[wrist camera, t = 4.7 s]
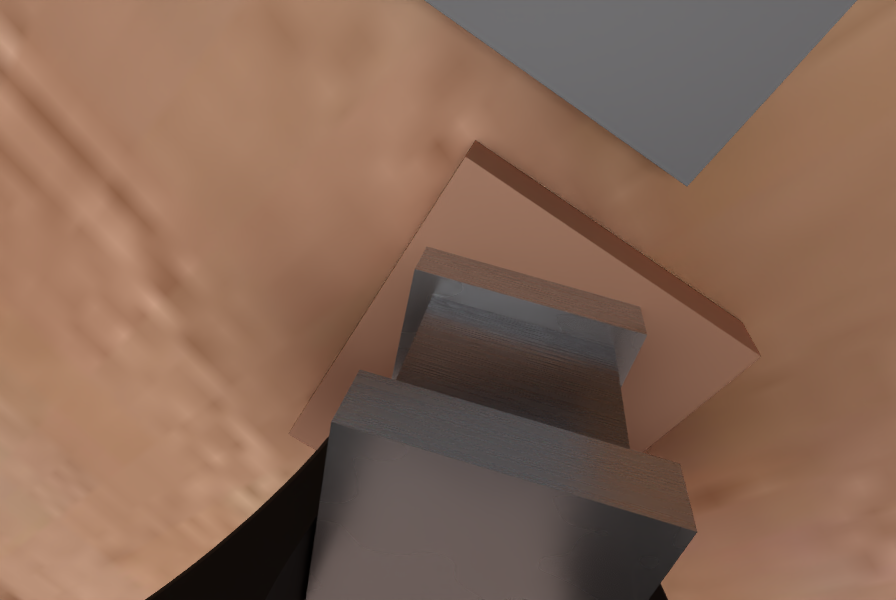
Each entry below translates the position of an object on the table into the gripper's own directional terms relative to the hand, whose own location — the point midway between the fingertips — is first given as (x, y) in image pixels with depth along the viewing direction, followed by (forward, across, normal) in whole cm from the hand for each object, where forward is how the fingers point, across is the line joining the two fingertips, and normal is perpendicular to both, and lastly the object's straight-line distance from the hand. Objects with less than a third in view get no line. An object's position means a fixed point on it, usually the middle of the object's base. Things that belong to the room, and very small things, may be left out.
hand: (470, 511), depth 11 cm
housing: (+4, 0, 0) cm, 4 cm away
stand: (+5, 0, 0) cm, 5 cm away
